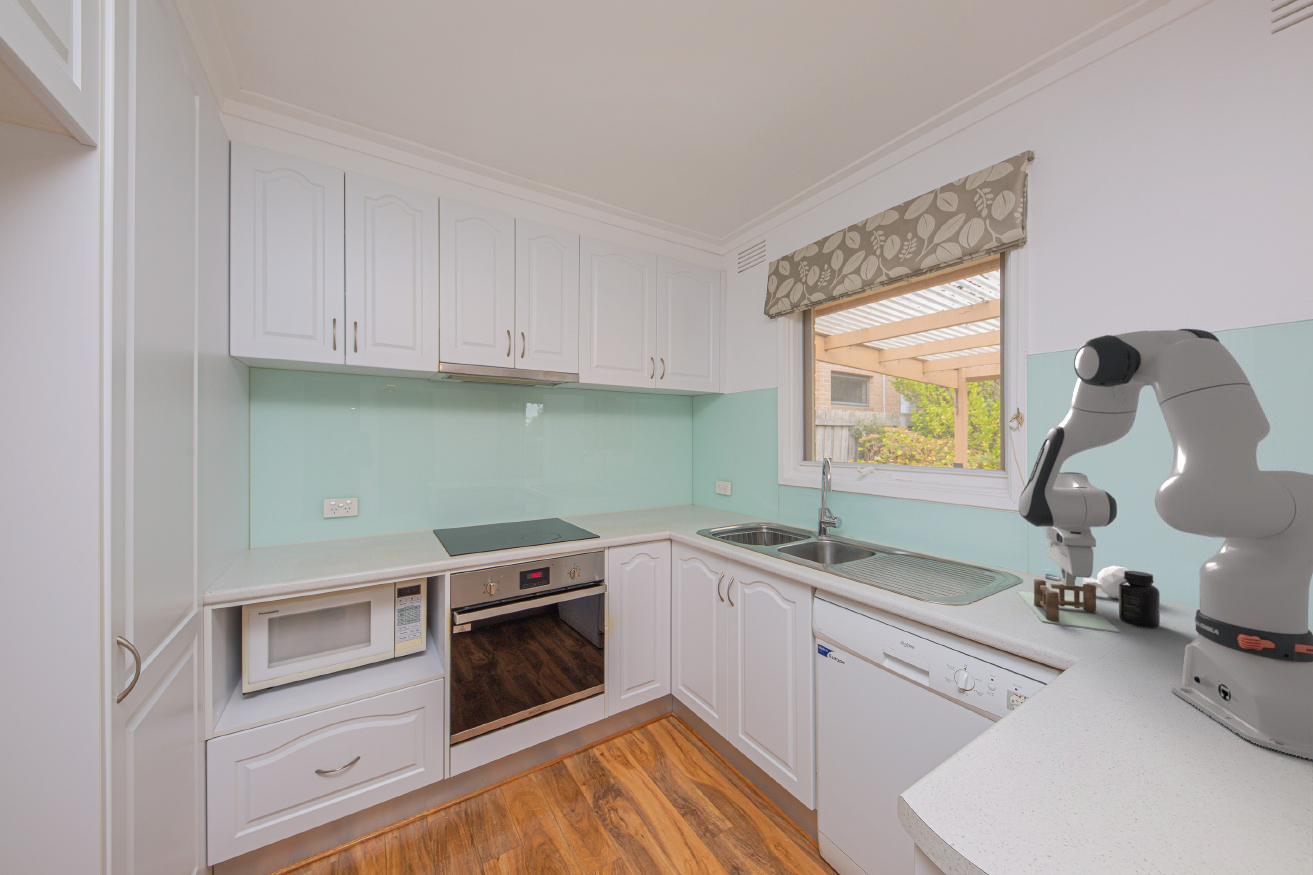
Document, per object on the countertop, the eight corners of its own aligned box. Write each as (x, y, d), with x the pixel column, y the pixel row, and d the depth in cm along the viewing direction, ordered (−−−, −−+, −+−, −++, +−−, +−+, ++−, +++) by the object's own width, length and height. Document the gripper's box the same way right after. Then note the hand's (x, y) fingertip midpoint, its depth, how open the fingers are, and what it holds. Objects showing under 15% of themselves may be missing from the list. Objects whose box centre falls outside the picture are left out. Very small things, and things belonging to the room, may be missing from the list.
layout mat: (1119, 632, 105) (1119, 630, 105) (1041, 622, 112) (1041, 620, 112) (1079, 599, 127) (1079, 597, 127) (1016, 592, 133) (1016, 590, 133)
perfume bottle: (1132, 587, 131) (1078, 587, 135) (1132, 559, 128) (1077, 560, 133) (1150, 607, 123) (1092, 606, 128) (1150, 577, 121) (1091, 577, 126)
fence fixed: (1033, 604, 123) (1032, 578, 123) (1044, 606, 122) (1044, 579, 122) (1047, 621, 112) (1047, 592, 112) (1060, 623, 111) (1060, 594, 111)
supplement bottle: (1168, 630, 107) (1168, 578, 107) (1133, 627, 108) (1133, 576, 108) (1143, 618, 113) (1143, 569, 113) (1111, 616, 115) (1110, 568, 115)
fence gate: (1053, 607, 119) (1053, 582, 119) (1050, 603, 121) (1049, 580, 121) (1097, 612, 116) (1097, 587, 116) (1093, 608, 118) (1093, 584, 118)
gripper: (1041, 525, 133) (1041, 573, 133) (1065, 539, 115) (1066, 595, 115) (1069, 527, 130) (1070, 576, 130) (1099, 541, 112) (1099, 598, 112)
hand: (1068, 585), depth 122 cm, fingers closed
